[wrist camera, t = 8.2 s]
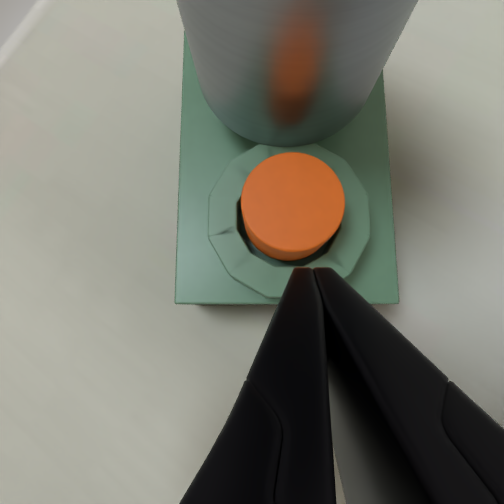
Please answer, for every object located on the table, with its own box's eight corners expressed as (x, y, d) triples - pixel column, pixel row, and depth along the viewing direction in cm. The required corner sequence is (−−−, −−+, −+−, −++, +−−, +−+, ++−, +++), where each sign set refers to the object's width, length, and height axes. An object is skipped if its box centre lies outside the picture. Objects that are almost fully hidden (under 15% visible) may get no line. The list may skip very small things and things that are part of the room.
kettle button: (333, 261, 13) (348, 251, 11) (243, 261, 14) (240, 252, 11) (329, 176, 14) (343, 150, 12) (244, 177, 14) (240, 151, 12)
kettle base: (367, 304, 19) (421, 303, 13) (193, 304, 19) (160, 303, 13) (355, 82, 21) (396, -14, 15) (199, 85, 22) (173, -8, 15)
